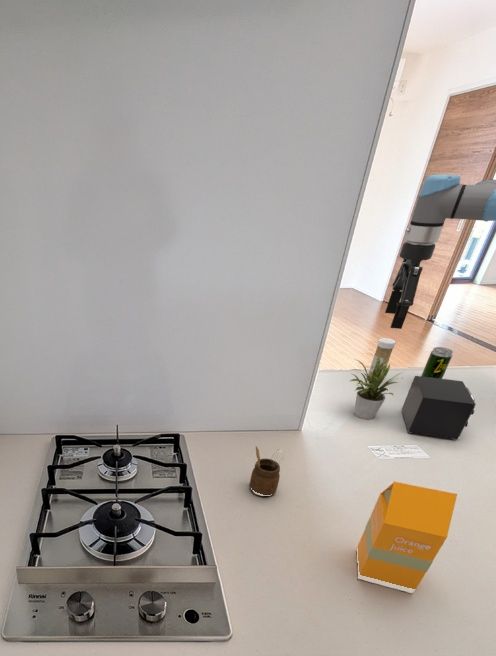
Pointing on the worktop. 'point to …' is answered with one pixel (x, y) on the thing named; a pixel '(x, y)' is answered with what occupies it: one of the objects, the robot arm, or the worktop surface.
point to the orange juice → (405, 533)
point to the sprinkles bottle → (382, 353)
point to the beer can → (437, 362)
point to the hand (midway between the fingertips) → (392, 320)
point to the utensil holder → (265, 475)
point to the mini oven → (438, 407)
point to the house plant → (371, 391)
